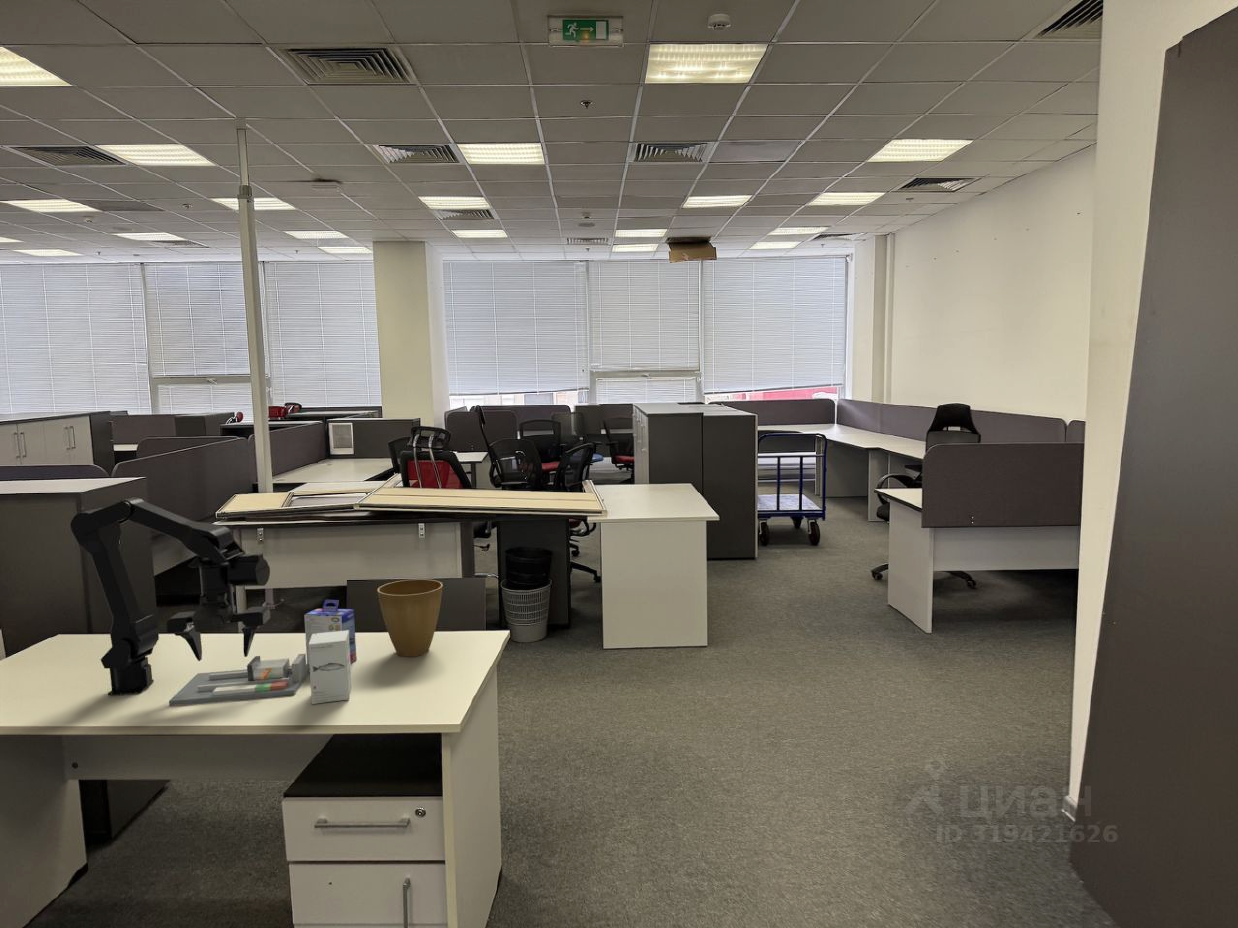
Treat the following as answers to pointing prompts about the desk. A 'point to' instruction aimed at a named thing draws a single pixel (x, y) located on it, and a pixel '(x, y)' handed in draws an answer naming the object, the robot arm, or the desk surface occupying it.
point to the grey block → (267, 669)
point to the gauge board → (240, 685)
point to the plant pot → (411, 614)
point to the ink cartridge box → (331, 624)
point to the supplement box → (330, 666)
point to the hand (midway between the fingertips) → (223, 658)
